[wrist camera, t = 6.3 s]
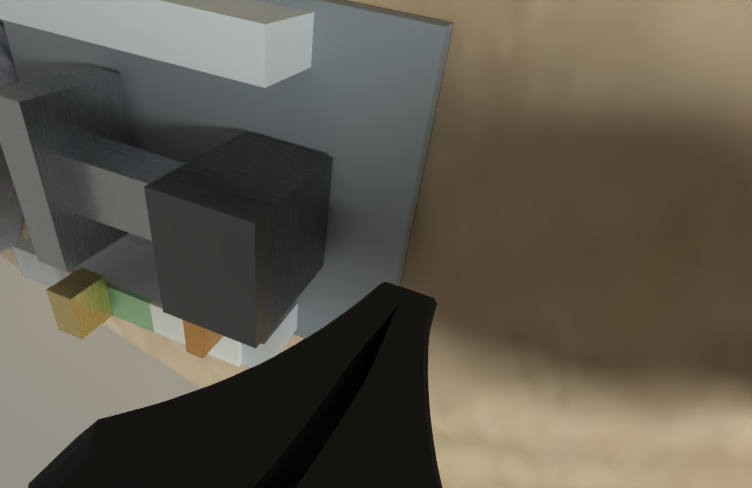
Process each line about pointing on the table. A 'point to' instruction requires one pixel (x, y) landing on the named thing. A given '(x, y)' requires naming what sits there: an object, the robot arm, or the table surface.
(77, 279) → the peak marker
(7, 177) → the stone block
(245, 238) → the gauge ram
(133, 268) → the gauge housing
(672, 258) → the table surface
